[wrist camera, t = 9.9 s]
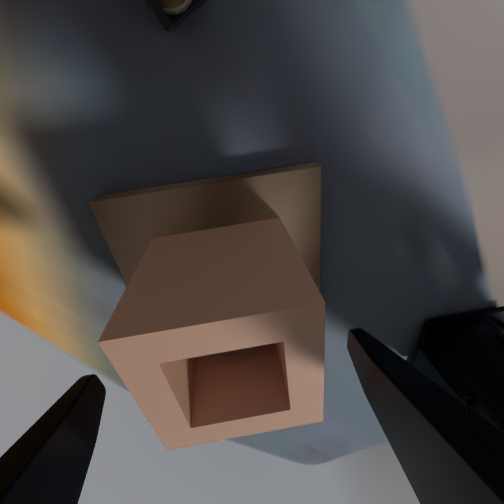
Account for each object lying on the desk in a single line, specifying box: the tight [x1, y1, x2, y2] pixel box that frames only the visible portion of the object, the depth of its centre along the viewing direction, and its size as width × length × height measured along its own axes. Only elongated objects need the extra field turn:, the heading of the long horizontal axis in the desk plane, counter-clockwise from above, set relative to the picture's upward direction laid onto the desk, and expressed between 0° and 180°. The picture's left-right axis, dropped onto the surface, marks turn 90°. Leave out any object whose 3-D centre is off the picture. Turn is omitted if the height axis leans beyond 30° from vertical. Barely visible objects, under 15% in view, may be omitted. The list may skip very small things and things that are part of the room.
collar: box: [98, 218, 325, 450], centre depth 11 cm, size 6×6×6 cm
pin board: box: [88, 162, 322, 357], centre depth 12 cm, size 10×10×5 cm
